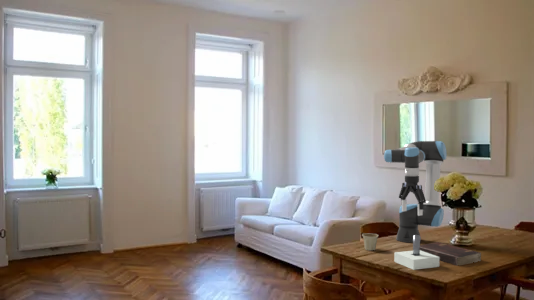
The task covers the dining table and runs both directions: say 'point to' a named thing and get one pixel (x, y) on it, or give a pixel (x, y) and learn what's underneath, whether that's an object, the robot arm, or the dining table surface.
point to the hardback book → (451, 253)
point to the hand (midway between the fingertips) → (411, 213)
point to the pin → (416, 245)
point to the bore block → (416, 260)
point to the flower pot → (370, 241)
